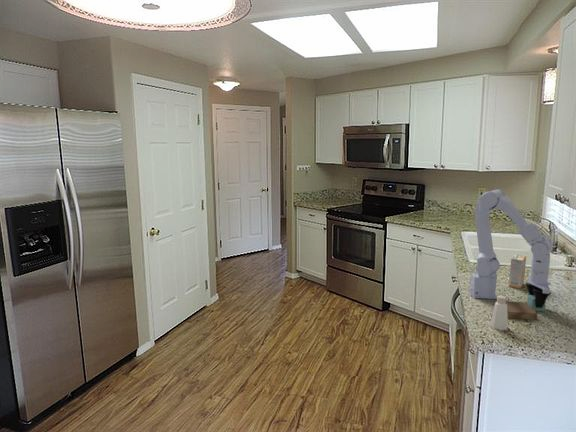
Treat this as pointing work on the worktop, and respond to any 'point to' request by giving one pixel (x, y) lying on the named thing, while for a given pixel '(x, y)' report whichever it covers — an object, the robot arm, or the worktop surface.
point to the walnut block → (520, 310)
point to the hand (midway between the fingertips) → (536, 304)
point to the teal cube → (532, 303)
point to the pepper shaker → (500, 314)
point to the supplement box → (517, 271)
